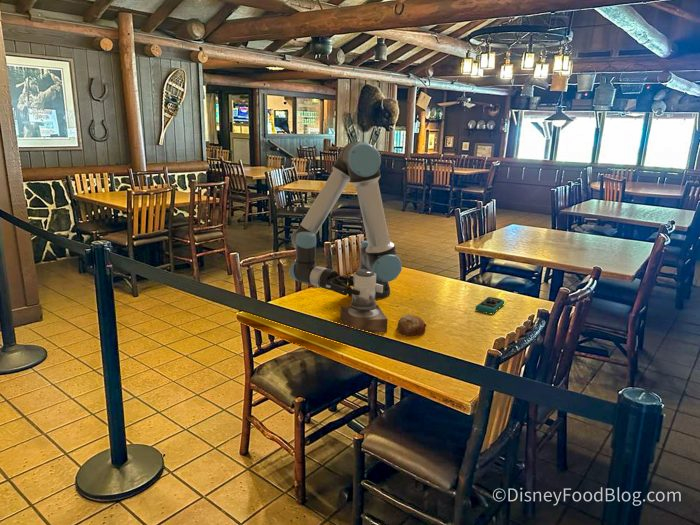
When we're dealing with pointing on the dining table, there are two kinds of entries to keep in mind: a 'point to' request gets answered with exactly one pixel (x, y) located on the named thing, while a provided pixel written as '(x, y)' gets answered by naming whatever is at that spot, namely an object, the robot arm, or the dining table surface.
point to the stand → (364, 319)
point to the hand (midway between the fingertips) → (375, 292)
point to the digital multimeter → (490, 305)
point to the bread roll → (411, 325)
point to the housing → (367, 282)
